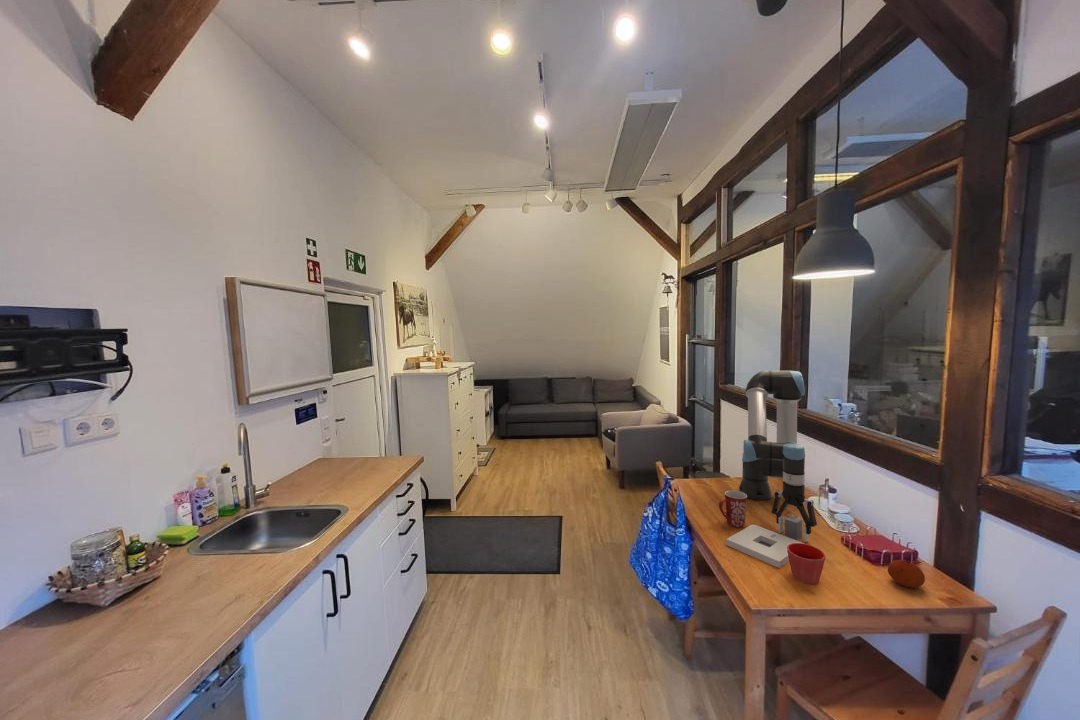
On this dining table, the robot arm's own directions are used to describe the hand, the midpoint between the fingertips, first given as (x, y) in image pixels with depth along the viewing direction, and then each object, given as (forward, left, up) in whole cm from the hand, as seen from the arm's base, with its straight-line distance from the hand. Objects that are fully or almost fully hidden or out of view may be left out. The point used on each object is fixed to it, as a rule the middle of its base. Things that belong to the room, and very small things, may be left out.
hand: (793, 536), depth 164 cm
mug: (+9, -21, -1) cm, 23 cm away
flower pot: (+26, +15, -1) cm, 30 cm away
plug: (0, 0, 0) cm, 0 cm away
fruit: (+4, +36, -1) cm, 36 cm away
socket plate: (+17, -3, 0) cm, 17 cm away
